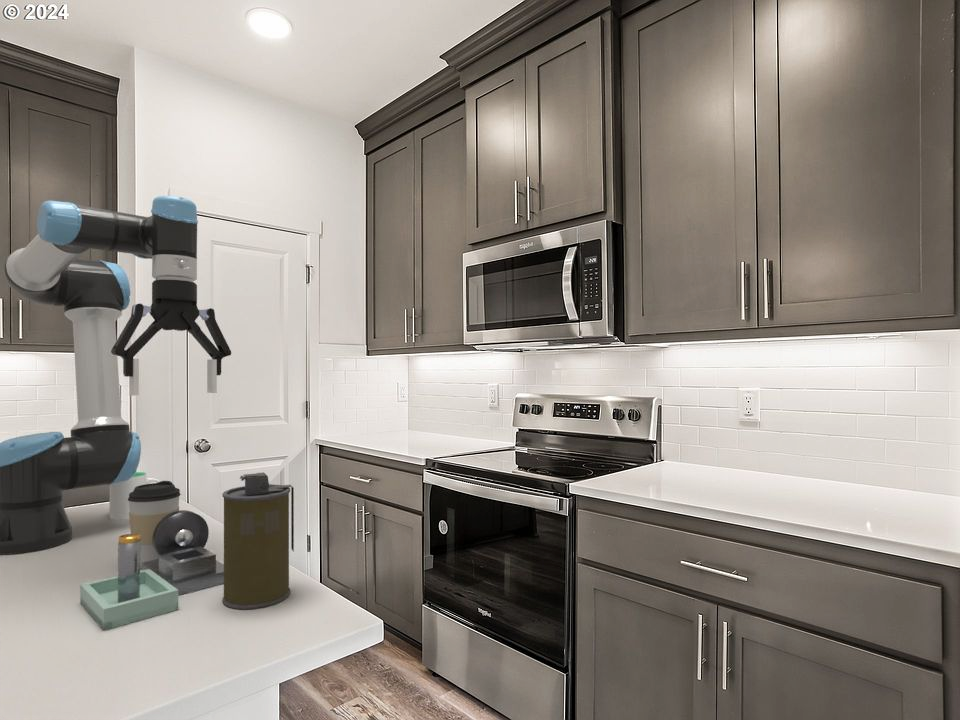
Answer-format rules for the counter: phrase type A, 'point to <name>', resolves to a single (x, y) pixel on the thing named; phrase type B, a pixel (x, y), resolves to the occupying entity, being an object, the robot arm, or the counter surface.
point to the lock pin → (129, 567)
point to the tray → (110, 613)
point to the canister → (257, 543)
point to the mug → (125, 495)
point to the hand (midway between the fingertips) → (174, 394)
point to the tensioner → (184, 553)
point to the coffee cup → (151, 512)
